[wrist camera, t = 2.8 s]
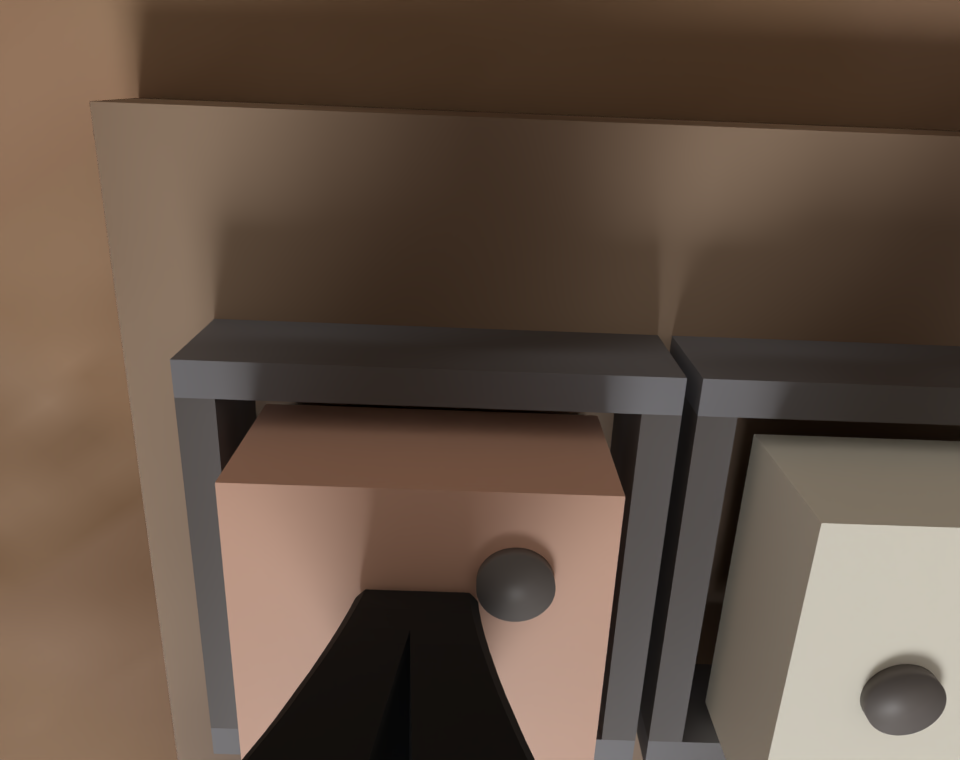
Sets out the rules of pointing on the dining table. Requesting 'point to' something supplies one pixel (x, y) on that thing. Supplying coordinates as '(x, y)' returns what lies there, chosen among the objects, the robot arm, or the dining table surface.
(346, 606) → the tile three
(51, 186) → the dining table surface
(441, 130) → the panel
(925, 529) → the tile two
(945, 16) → the dining table surface
